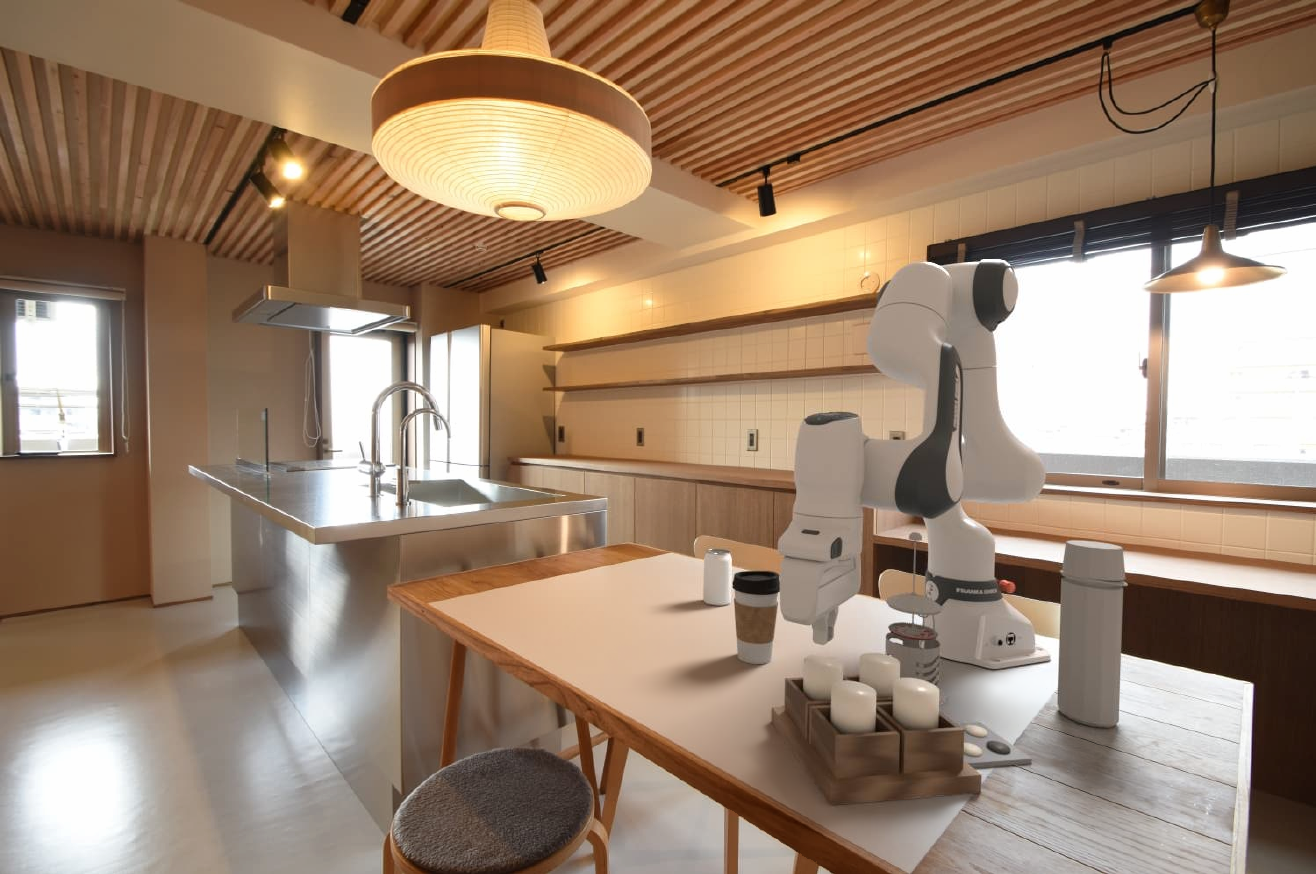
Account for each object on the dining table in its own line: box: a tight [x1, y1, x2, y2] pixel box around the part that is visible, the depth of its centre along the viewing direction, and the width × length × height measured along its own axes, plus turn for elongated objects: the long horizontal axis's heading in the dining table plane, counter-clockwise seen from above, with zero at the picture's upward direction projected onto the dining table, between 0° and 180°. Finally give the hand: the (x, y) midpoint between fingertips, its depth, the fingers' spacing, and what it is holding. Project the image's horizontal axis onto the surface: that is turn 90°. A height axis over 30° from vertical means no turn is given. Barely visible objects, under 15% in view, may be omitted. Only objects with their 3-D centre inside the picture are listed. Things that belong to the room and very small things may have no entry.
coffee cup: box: [731, 570, 780, 665], centre depth 102 cm, size 8×8×15 cm
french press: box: [884, 531, 947, 706], centre depth 91 cm, size 10×12×25 cm
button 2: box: [830, 680, 876, 735], centre depth 68 cm, size 5×5×5 cm
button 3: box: [858, 652, 900, 698], centre depth 77 cm, size 5×5×5 cm
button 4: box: [892, 678, 940, 731], centre depth 69 cm, size 5×5×5 cm
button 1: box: [802, 654, 844, 701], centre depth 75 cm, size 5×5×5 cm
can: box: [702, 548, 733, 607], centre depth 135 cm, size 6×6×12 cm
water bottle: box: [1056, 539, 1129, 728], centre depth 83 cm, size 9×8×25 cm
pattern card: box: [955, 721, 1033, 769], centre depth 75 cm, size 9×9×1 cm
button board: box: [770, 674, 982, 806], centre depth 72 cm, size 18×18×6 cm
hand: (823, 641), depth 75 cm, fingers closed
